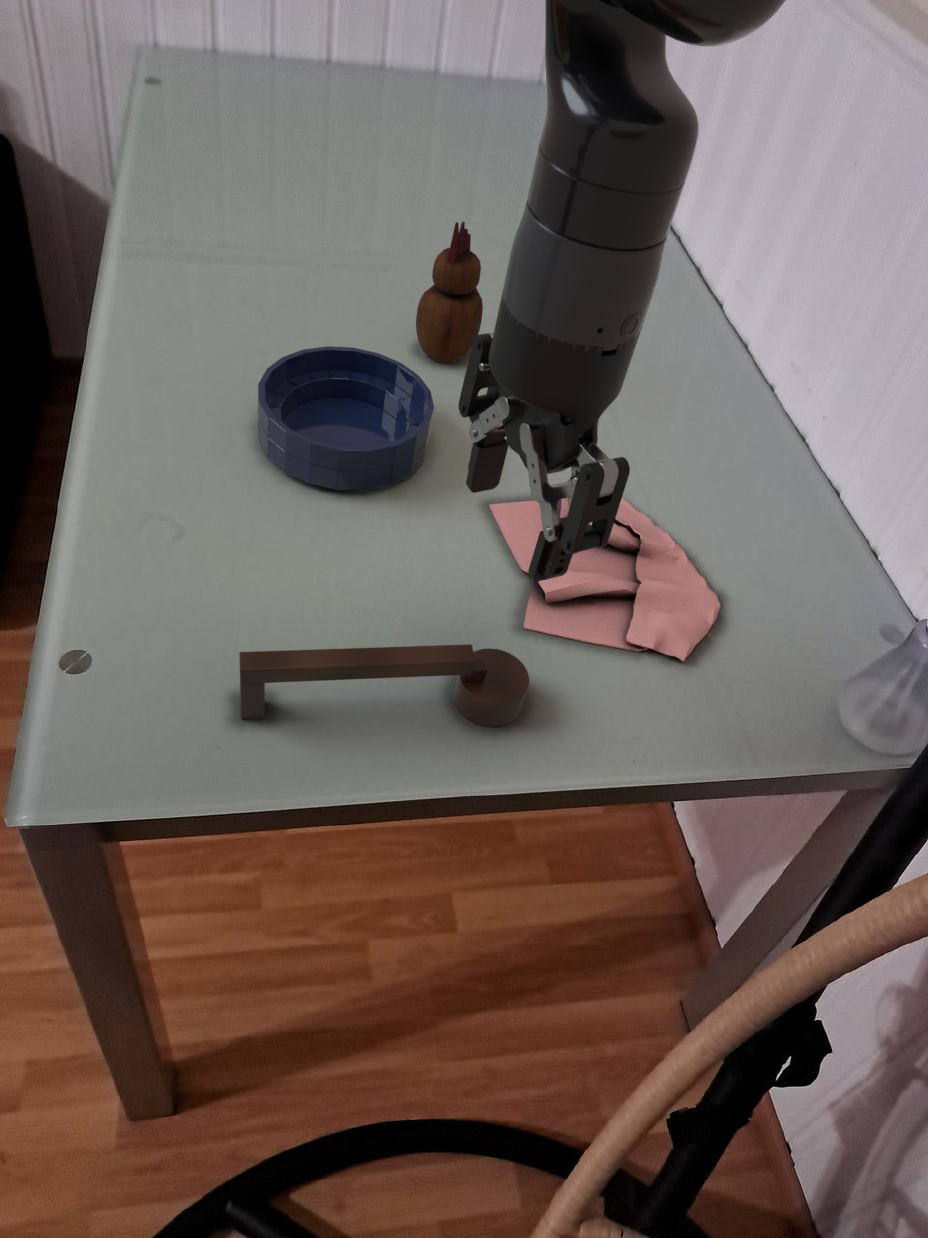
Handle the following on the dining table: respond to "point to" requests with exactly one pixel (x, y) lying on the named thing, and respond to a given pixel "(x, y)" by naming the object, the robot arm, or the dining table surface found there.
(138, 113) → the dining table surface
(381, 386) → the bowl
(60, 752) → the dining table surface
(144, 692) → the dining table surface
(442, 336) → the wooden figurine
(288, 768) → the dining table surface
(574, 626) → the cloth
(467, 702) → the ladle
